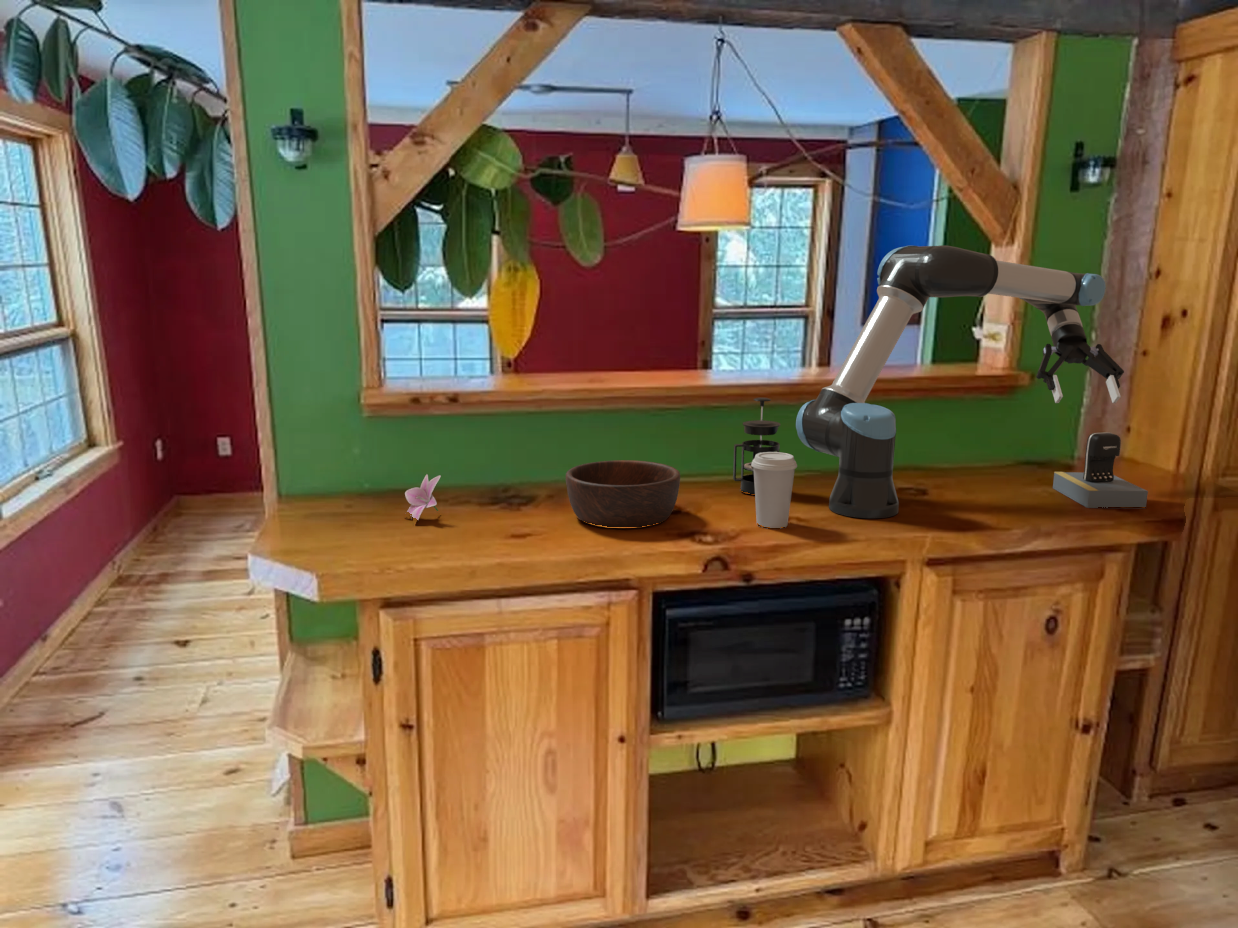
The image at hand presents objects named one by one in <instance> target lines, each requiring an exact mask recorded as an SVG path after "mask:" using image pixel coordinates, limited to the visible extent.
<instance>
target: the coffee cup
mask: <svg viewBox="0 0 1238 928" xmlns="http://www.w3.org/2000/svg"><path fill="white" fill-rule="evenodd" d="M751 462H752V463H751ZM751 462H750V463H751V466H752V467H753V469H754V485H755V496H754V497H755V498H754V499H755V500H754V501H755V502H754V503H755V516H756V524H757V523H758V524H759V525H762V526H764V527H770V528H780V529H782V528H781V527H785V528H787V526H788V524H789V516H790V508H791V500H792V491H793V484H794V476H795V471H796V470H795V469H797V467H798V464H797V461H796V460H795V456H794V455H792V454H790V453H786V452H780V451H779V452H777V451H775V452H763V453H758V454H756V455H755V458H754V459H753V458H752V461H751Z"/></svg>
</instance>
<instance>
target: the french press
mask: <svg viewBox="0 0 1238 928" xmlns="http://www.w3.org/2000/svg"><path fill="white" fill-rule="evenodd" d="M753 401H755V402H759V407H761V409H760V419H758V420H757V419H756V420H755V419H754V420H748V421H747V420H746V421H743V422H742V425H743V427H744V431H743V432H744V433H745V434H747V435H750V436H751V435H753V436H759V439H749V440H745V441H742V443H734V444H733V467H732V469H733V472H732V474H733V475H732V480H734V481H735V482H740V489H741V491H743V492H748V493H750V494H755V485H754V469H753V467H752V466H751V463H752V461H751V462H747V463H745V452H750V453H752V460H753V459H754V458H755V455H756V454H758V453H763V452H780V449H781V447H780V442H778V441H774V440H769V439H768V440H767V439H763V437H762V436H773V435H775V434H777V432H778V429H779V428H780V427H781V423H780V422H777V421H774V420H773V421H772V420H763V413H764V412H763V411H764V410H763V409H764V407H765V402H770V401H772V399H771V398H768V397H755V398H753ZM739 447H741V470H740V471H741V473H740V477H736V476H737V448H739ZM744 470H745V471H748V472H752V473H749V474H744V473H745V472H744ZM740 489H739V490H740Z"/></svg>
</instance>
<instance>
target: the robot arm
mask: <svg viewBox="0 0 1238 928" xmlns="http://www.w3.org/2000/svg"><path fill="white" fill-rule="evenodd" d="M876 274H877V276H878V277H877V278H876V279H877V284H878V286H877V289H876V293H877V296H878V300H877V302H876V304H875V305H874V307H873V309H872V311H871V312H870V314H869V316H868V318H867V319H866V321H865V324H864V325H863V327H862V329H861V331H860V333H859V334H858V336H857V338H856V339H855V342H854V343H853V345H852V347H851V349H850V350H849V353H848V354H847V356H846V358H845V360H844V362H843V364H841V368H840V369H839V371H838V373H837V374H836V376H835V378H834V379H833V382H832V384H831V385H828V386H825V387H822V388H821V390H820V391H819V394H818V396H817V397H816V399H812V400H810V401H807V402H806V403H804V404H803V405H802V406H801V407H800V408H799V411H798V412H797V415H796V420H795V429H796V432H797V437H798V438H799V440H800V441H801V443H802V444H803V445H804V446H806V447H807V448H810V449H812V450H813V451H815V452H818V453H824V454H827V455H831V456H834V457H837V458H838V459H839V460H838V462H839V463H838V476H837V478H836V480H835V483H834V485H833V488H832V491H831V493H830V496H829V501H828V502H829V503H828V509H829V510H830V511H831V512H833V513H835V514H838V515H842V516H845V517H851V518H858V519H885V518H890V517H894V516H896V515H897V514H898V513H899V506H900V502H899V499H898V495H897V491H896V487H895V484H894V483H895V482H894V480H893V472H894V471H893V470H894V460H895V448H896V447H895V446H896V435H897V428H896V427H897V426H896V422H897V421H896V415H895V413H894V412H893V411H892V410H890V409H889V408H886V407H884V406H881V405H877V404H870V403H867V402H866V400H867V398H868V396H869V394H870V393H871V391H872V389H873V387H874V385H875V383H876V381H877V379H878V378H879V376H880V374H881V373H882V372H883V369H884V367H885V365H886V363H887V361H888V359H889V358H890V357H891V354H892V352H893V351H894V349H895V347H896V345H897V343H898V341H899V339H900V338H901V336H902V334H903V332H904V330H905V328H906V327H907V325H908V323H909V322H910V319H911V318H912V316H913V315H915V314H917V313H918V314H919V313H921V312H922V311H923V310H924V307H925V306H926V304H927V302H928V300H929V298H953V297H954V298H955V297H977V298H982V297H985V296H987V295H996V296H1005V297H1012V298H1018V299H1020V300H1022V301H1024V302H1026V303H1028V305H1031V306H1032V307H1034V308H1035V309H1037V310H1038V311H1041V312H1042V313H1043V314H1044V317H1045V321H1046V323H1047V326H1048V327H1047V328H1048V331H1049V334H1050V336H1051V341H1052V344H1053V346H1052V345H1051V344H1050V343H1047V344H1046V345H1045V346H1044V348H1043V350H1042V355H1043V356H1042V358H1041V362H1040V365H1039V368H1038V370H1037V373H1036V379H1038V380H1040V379H1043V380H1042V382H1043V383H1046V387H1047V390H1049V391H1051V392H1052V396H1053V399H1054V403H1055V404H1060V402H1061V400H1062V399H1063V397H1064V395H1063V393H1062V392H1063V391H1062V389H1061V385H1060V382H1059V377H1058V375H1057V374H1055V373H1056V372H1057V371H1058V369H1060V367H1061V366H1062V365H1063V364H1064V362H1065V363H1067V364H1083V366H1085V367H1086V366H1088V367H1089V368H1091V369H1093V370H1094V371H1095V372H1096V373H1097V374H1099V375H1100V376H1102V377H1103V378H1105V379H1106V380H1105V385H1106V387H1107V390H1108V394H1109V397H1110V399H1111V403H1112V404H1116V403H1118V401H1119V399H1121V393H1120V391H1119V389H1120V388H1121V384H1120V382H1119V380H1120V378H1121V377H1122V376H1123V375H1124V373H1125V370H1124V369H1123V368H1122V367H1121V366H1119V364H1118V363H1117V362H1116V361H1115V360H1114V359H1113V357H1111V356H1110V355H1109V354H1108V353H1107V352H1106V351H1105V349H1104V348H1103V345H1102V344H1100V343H1097V344H1096V345H1095V346H1090V345H1089V344H1088V341H1087V340H1088V339H1087V335H1086V333H1085V329H1084V327H1083V322H1082V320H1081V316H1080V314H1079V311H1078V308H1077V306H1081V307H1085V306H1088V307H1089V306H1092V307H1093V306H1096V305H1098V304H1099V303H1100V302H1101V301H1102V300H1103V299H1104V296H1105V295H1106V294H1105V293H1106V288H1107V287H1106V281H1105V279H1104V278H1103V277H1102V275H1100V274H1097V273H1089V272H1087V273H1079V272H1072V271H1066V270H1060V269H1054V268H1048V267H1047V268H1046V267H1040V266H1036V265H1035V266H1034V265H1029V264H1028V265H1027V264H1021V263H1015V262H1008V261H1004V260H1003V261H1002V260H997V259H996V258H995V257H994V256H993V255H991V254H988V253H982V252H977V251H973V250H970V249H966V248H965V249H964V248H961V247H957V246H951V245H926V246H925V245H923V246H919V245H906V246H905V245H904V246H901V247H897V248H894V249H891V251H889V252H888V253H886V255H885V256H884V257H882V260H881V261H880V263H879V266H878V269H877V273H876ZM1053 354H1055V356H1058V359H1057V360H1056V361H1055V363H1054V364H1053V365H1052V367H1051V368H1050V369H1049V370H1048V371H1046V370H1047V367H1048V364H1049V361H1050V359H1051V356H1053ZM1087 357H1088V358H1087Z"/></svg>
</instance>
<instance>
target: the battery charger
mask: <svg viewBox="0 0 1238 928" xmlns="http://www.w3.org/2000/svg"><path fill="white" fill-rule="evenodd" d="M1086 439H1087V440H1086V447H1085V457H1084V469H1083V473H1084V476H1083V479H1084V480H1086V481H1091V482H1108V481H1113V480H1114V475H1115V474H1114V463H1115V459H1116V457H1120V453H1121V444H1122V443H1121V442H1122V441H1121V437H1120V436H1119V435H1117V434H1115V433H1112V432H1094V433H1091V434H1088V437H1087V438H1086Z"/></svg>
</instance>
